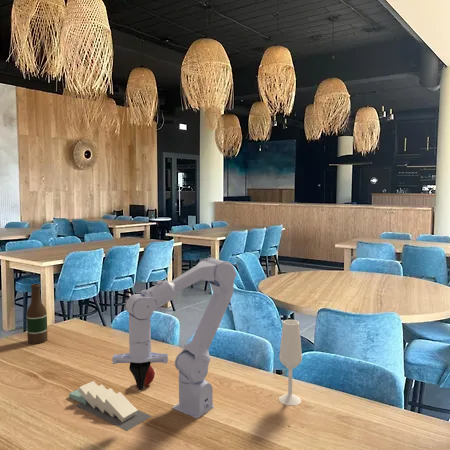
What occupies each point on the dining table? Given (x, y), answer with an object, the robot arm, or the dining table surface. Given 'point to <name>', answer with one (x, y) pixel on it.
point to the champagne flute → (290, 356)
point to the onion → (149, 376)
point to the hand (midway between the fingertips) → (141, 388)
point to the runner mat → (115, 420)
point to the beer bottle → (36, 318)
